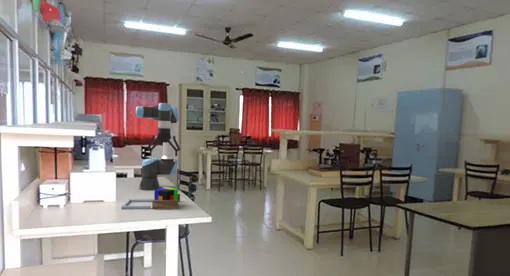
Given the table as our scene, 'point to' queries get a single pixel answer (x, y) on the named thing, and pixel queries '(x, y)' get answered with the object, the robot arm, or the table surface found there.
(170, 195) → the puzzle toy
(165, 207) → the channel
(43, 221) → the table surface
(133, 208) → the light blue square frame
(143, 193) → the table surface
